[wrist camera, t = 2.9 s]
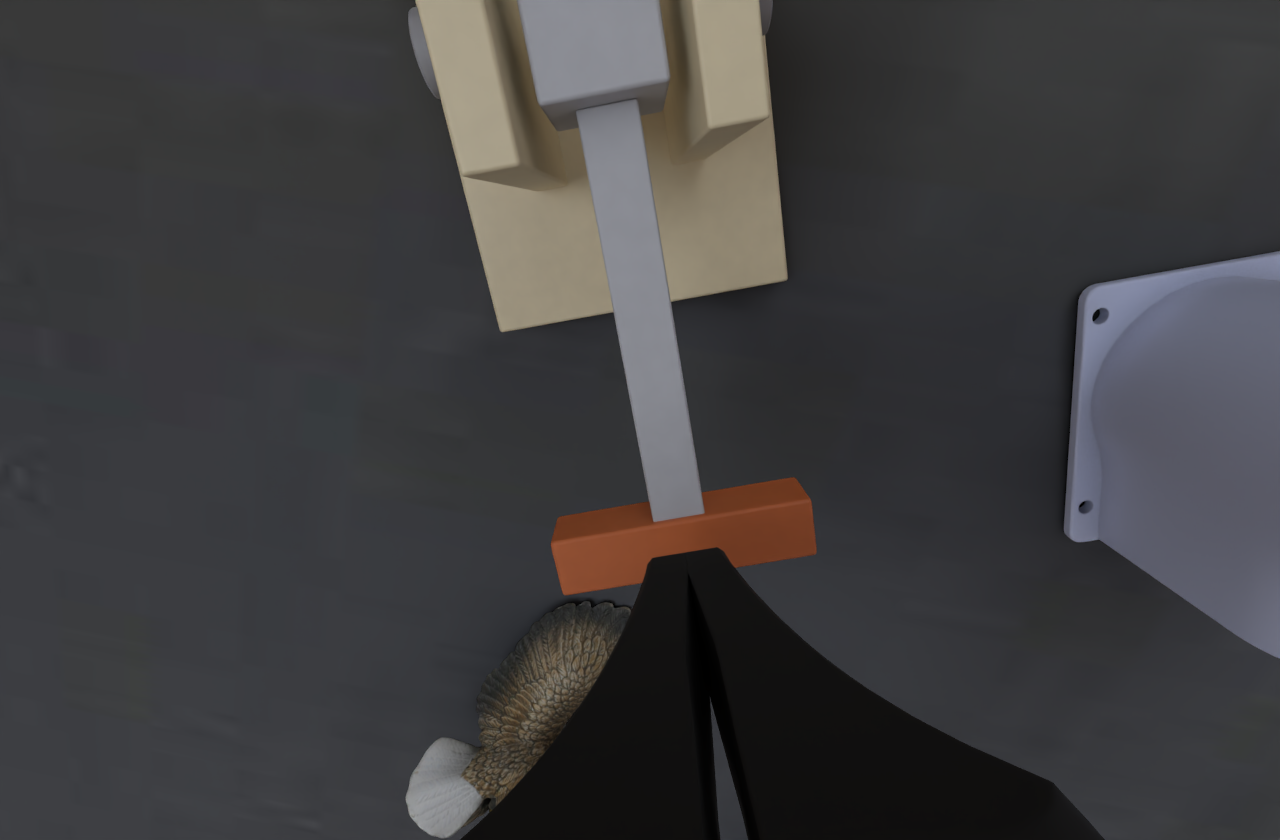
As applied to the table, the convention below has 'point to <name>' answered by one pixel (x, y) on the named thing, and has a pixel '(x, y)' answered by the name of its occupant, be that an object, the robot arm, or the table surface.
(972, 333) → the table surface
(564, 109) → the lever
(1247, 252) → the table surface
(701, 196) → the beige mounting bracket
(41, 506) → the table surface
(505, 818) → the robot arm
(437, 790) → the eagle figurine
